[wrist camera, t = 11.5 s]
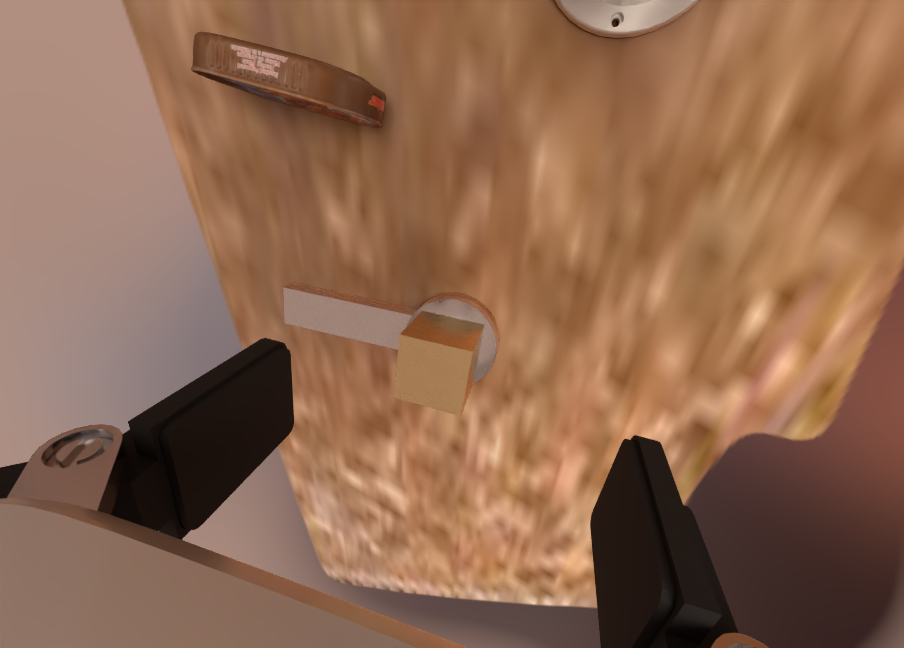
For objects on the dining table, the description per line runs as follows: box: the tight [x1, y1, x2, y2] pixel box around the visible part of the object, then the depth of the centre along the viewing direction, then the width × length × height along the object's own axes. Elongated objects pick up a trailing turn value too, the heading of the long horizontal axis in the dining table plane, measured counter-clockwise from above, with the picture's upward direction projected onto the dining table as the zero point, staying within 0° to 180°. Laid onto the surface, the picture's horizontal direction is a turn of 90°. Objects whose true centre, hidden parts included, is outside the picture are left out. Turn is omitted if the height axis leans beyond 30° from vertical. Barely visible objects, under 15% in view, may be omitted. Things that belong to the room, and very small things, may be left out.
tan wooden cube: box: [393, 311, 485, 415], centre depth 34 cm, size 6×6×6 cm
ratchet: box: [283, 283, 499, 383], centre depth 37 cm, size 9×22×6 cm, turn 81°
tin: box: [191, 32, 386, 128], centre depth 30 cm, size 15×3×8 cm, turn 74°
